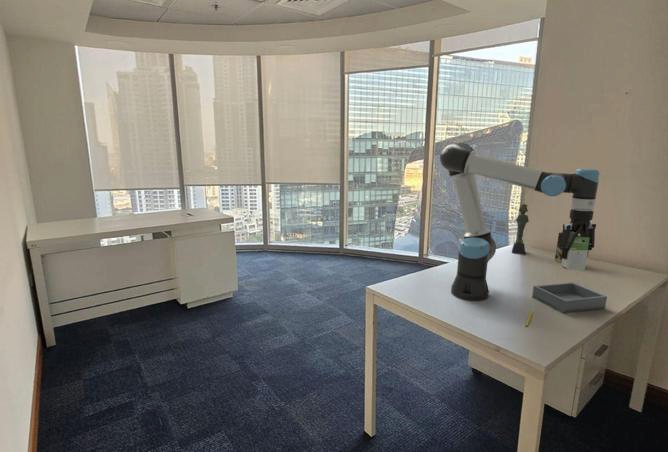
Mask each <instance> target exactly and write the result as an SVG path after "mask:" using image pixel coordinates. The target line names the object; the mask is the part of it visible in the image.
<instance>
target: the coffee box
mask: <svg viewBox="0 0 668 452" xmlns="http://www.w3.org/2000/svg"><path fill="white" fill-rule="evenodd" d="M562 232H563V231H562ZM562 232H558V236H557V241H556V244H557V245H556V249H555V250H556V251H555V255H554V261H555V262H558V263H561V264H562V250H561V249H559V248H558V246H559V243H560V239H561V235H562ZM576 237H581V236H580V234H578V236H576ZM575 242H582V241H581V239H580V240H576V241H575Z"/></svg>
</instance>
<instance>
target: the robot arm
mask: <svg viewBox="0 0 668 452" xmlns="http://www.w3.org/2000/svg"><path fill="white" fill-rule="evenodd" d="M439 160H440V164H441V166H442V167H443V168H444V169H445V170H448V171H447V172H448V175H449V177H450V178H451V179H453V180H454V185H455V189H456V193H457V198H458V203H459V207H460V212H461V216H462V220H463V225H464V228H465V229H464V230H465V232H464V234H463V239H461V240H460V242H459V246H458V257H457V268H456V269H457V270H456V276H455V278H454V281H453V283H452V285H451V288H450V290H451V292H450V293H452V295H453V296H455V297H457V298H459V299H463V300H468V301H484V300H487V299H488V298H489V294H490V291H489V285H488V283H487V282H488V281H487V272H488V271H487V270H488V264H489V262H490V260H492V258H493V257H494V255H495V254H496V249H497V245H496V242H495V240H494V238H493V237H492V233H491V230H490V229H489V228H487V227H486V222H485V218H484V217H485V216H484V213H483V209H482V204H481V200H480V196H479V192H478V187H477V186H478V185H477V182H476V178H475V175H478V176H481V177H485V178H489V179H491V180H496V181H499V182H503V183H506V184H507V183H508V184H509V185H510V184H511V185H513V186H517V187H521V188H524V189H528V190H531V191H535V192H538V193H541V194H544V195H545V196H548V197H557V196H560V195H561V194H563V193H564V194H572V198H571V204H570V208H571V209H570V210H569V219H570V222H569V223H567V224H566V223H563V225H562V235H561V239H560V243H559V246H558V248H559V249H561V250H562V263H561V264H560V266H561V267H562V266H564V267H567V268H569V261H570V254H571V251H569V250H570V248H571V246H572V244H573V242H574V240H575V238H576V236H578V235H579V236H581V237H590V238H589V245H588V252H587V258H586V262H587V260H588V257H589V251H592V250H593V249H594V248H595V237H596V234H595V233H596V227H597V224H596V223H592V222H591V221H592V220H593V218H594V209H595V204H596V198H597V192H598V187H599V180H600V170H598V169H596V168H595V169H594V168H577V169H576V171H575V173H561V172H551V171H550V172H546V171H543V170H539V169H534V168H530V167H528V166H523V165H519V164H515V163H512V162H507V161H503V160H500V159H496V158H492V157H489V156H485V155H481V154H477V153H476V151H475V149H474V148H473V147H472V146H471V145H469V144H468V143H464V142H460V143H458V142H456V143H455V142H454V143H450V144H448V145H446V146H444V147H443V149H442V150H441V151H440V155H439ZM581 242H585V240H581ZM566 247H567V248H566ZM586 266H587V264H586V265H585V267H586Z"/></svg>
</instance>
